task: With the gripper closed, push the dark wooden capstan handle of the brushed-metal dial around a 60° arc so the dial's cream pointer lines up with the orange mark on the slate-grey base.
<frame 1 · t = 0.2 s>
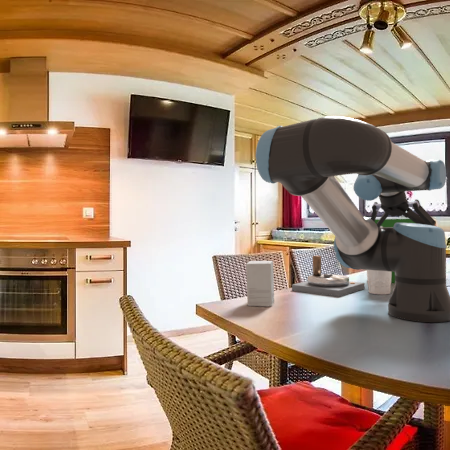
hand: (405, 244, 129), 16 cm above the table, tool tilted 35°, fingers open, 13 cm apart
hardback book: (393, 282, 149), on the table
white cup: (379, 293, 129), on the table
capstan dial: (328, 270, 136), point 7 cm above the table, hinge at 0.0°
supplement box: (261, 304, 117), on the table
dial base: (328, 289, 136), on the table
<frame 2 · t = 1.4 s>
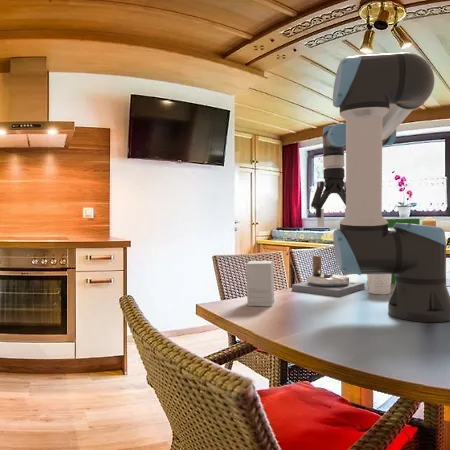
hand: (334, 226, 145), 22 cm above the table, tool pointing down, fingers open, 12 cm apart
nothing on the table moved.
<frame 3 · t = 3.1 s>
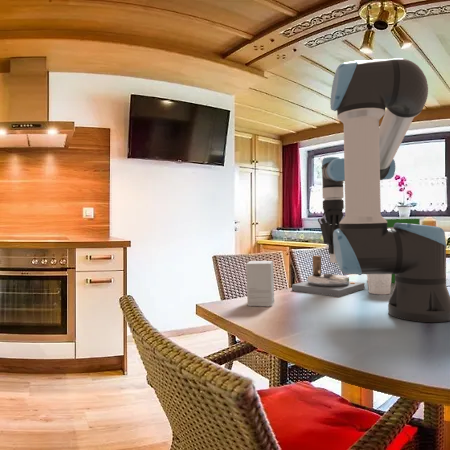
hand: (334, 262, 145), 8 cm above the table, tool pointing down, fingers closed
nothing on the table moved.
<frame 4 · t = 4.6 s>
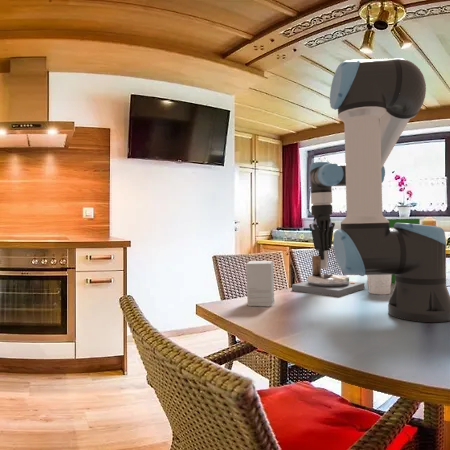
hand: (323, 268, 144), 6 cm above the table, tool pointing down, fingers closed
capstan dial: (328, 270, 136), point 7 cm above the table, hinge at 1.8°, touching gripper
everything else where it was.
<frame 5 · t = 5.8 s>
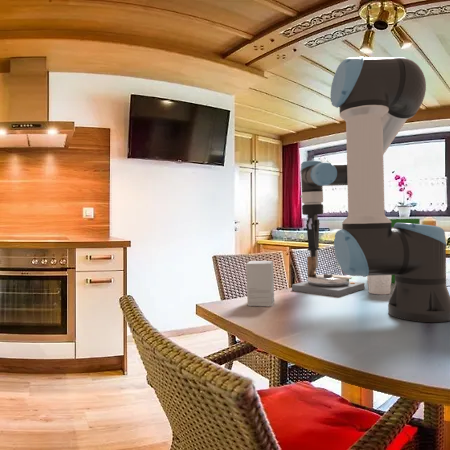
hand: (314, 267, 143), 7 cm above the table, tool pointing down, fingers closed
capstan dial: (328, 270, 136), point 7 cm above the table, hinge at 30.1°, touching gripper
everything else where it was.
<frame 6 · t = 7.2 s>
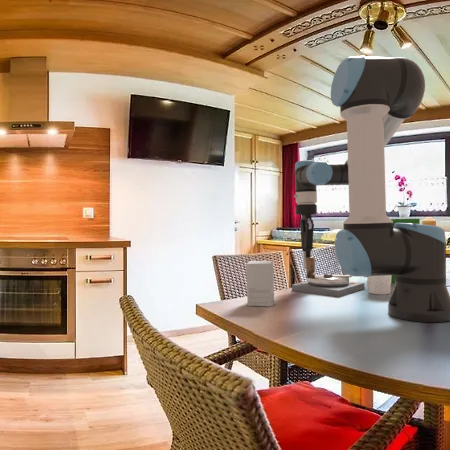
hand: (307, 268, 142), 7 cm above the table, tool pointing down, fingers closed
capstan dial: (328, 270, 136), point 7 cm above the table, hinge at 59.6°
everything else where it was.
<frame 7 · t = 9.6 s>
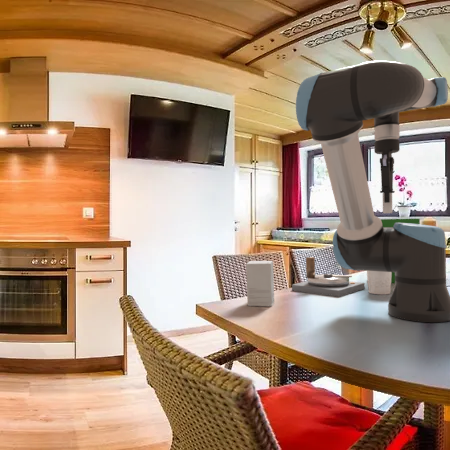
hand: (387, 213, 126), 26 cm above the table, tool pointing down, fingers closed
nothing on the table moved.
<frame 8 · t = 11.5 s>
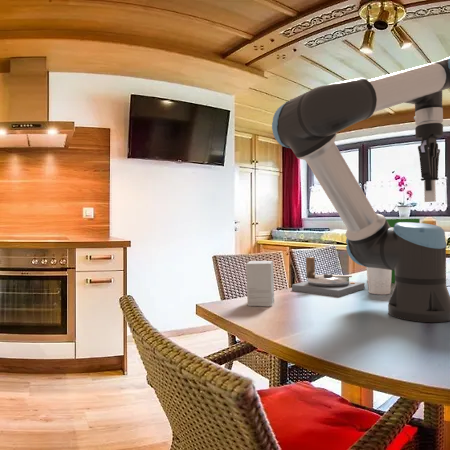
hand: (430, 201, 120), 29 cm above the table, tool pointing down, fingers closed
nothing on the table moved.
at the end: capstan dial at +60° (first picture: +0°); white cup moved 0.2 cm from its start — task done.
